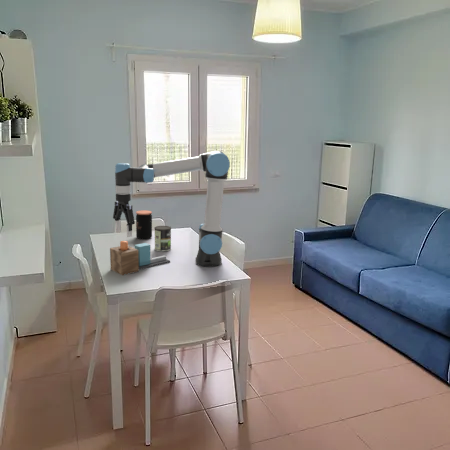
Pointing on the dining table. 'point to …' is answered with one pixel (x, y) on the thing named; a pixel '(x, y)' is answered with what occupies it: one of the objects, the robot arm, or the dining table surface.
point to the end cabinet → (124, 260)
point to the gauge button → (123, 245)
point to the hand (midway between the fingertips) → (123, 234)
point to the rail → (155, 262)
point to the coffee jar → (144, 224)
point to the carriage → (143, 253)
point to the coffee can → (162, 238)
